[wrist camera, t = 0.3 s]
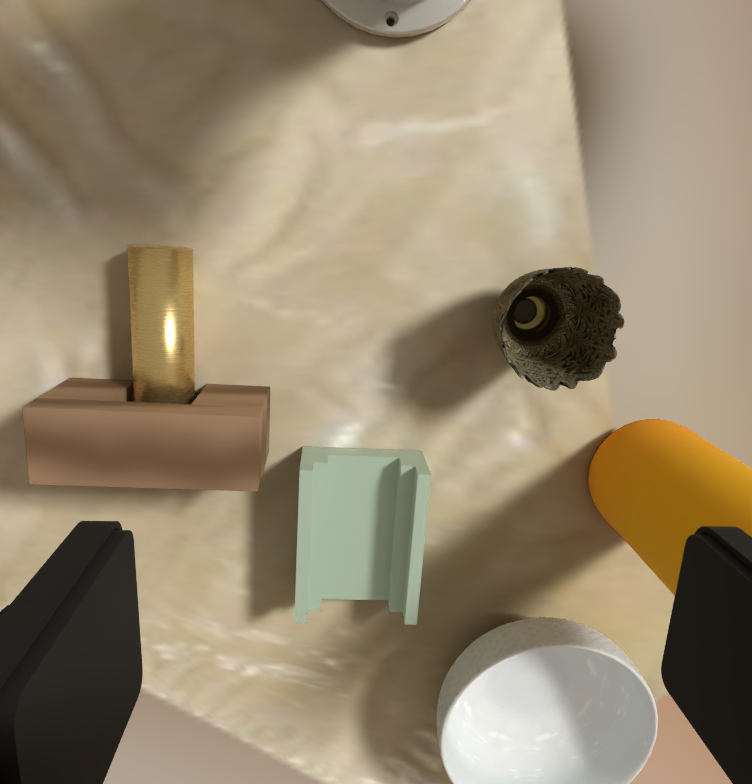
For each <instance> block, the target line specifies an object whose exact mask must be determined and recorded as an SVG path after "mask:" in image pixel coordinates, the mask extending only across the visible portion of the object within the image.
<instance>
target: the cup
mask: <svg viewBox="0 0 752 784" xmlns="http://www.w3.org/2000/svg"><path fill="white" fill-rule="evenodd" d="M602 282H603V283H604V279H603V278H602V277H600V276H595V275H589V274H588V271H587V270H584V269H581V268H576V267H575V268H572V267H563V268H553V269H544V270H538V271H533V272H530V273H528V274H525V275H523V276H521V277H519V278H518V279H516V280H515V281H513V282H512V283H511V284H510V285H509V286H508V287H507V288H506V289H505V290H504V291H503V293H502V294H501V296H500V297H499V299H498V301H497V304H496V306H495V310H494V315H493V329H494V334H495V337H496V340H497V343H498V345H499V347H500V349H501V351H502V352H503V354H504V356H505V358H506V360H507V362H508V363H509V364H510V365H511V367H512V368H513V369H514V370H515V372H516V373H517V375H518V376H519V377H521V378H522V379H523V378H526V380H527V381H528V382H531V383H532V384H534V385H535V386H537V387H540V388H542V387H544V388H546V389H549V390H554V391H555V390H557V389H558V388H559V387H560V385H563V386H566V387H568V388H570V389H574V388H575V387H576V385H577V383H578V382H579V381H589V380H593V379H596V378H598V377H599V376H600V375H601V373H602V372H603V369H604V367H605V364H606V362H611V361H612V360H613V359H615V358H616V355H617V351H616V350H615V347H613V345H612V343H613V341H614V339H616V329H617V328H620V329H621V328H623V325H624V319H623V317H622V316H621V314H620V313H619V311H620V308H621V304H620V299H619V297H618V295H617V294H616V293H615V292H614V291H612V289H610V288H609V287H607V286H606V285H604V284H603V283H602ZM523 300H529V301H531V302H533V303H534V305H535V307H536V315H535V317H534V318H533V319H532V320H531V321H529V322H526V323H522V322H519V321H518V320H517V319H516V318H515V316H514V311H515V308H516V306H517V305H518V303H519V302H520V301H523ZM576 382H577V383H576Z"/></svg>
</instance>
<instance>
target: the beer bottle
mask: <svg viewBox="0 0 752 784" xmlns="http://www.w3.org/2000/svg"><path fill="white" fill-rule="evenodd" d="M589 489H590V494H591V496H592V499H593V501H594V504H595V506H596V507H597V509H598V510H599V512H600V513H601V515H602V516H603V518H604V519H605V520H606V521H607V522H608V523H609V524H610V525H611V526H612V527H613V528H614V529H615V530H616V531H617V532H618V533H619V534H620V535H621V536H622V537H623V538H624V539H625V541H626V542H627V543H628V544H629V545H630V546H631V547H632V548H633V550H634V551H635V552H636V553H637V554H638V555H639V556H640V557H641V558H642V560H643V561H644V562H645V563H646V564H647V565H648V566H649V567H650V569H651V570H652V571H653V572H654V573H655V574H656V575H657V576H658V577H659V579H660V580H661V581H662V582H663V583H664V584H665V585H666V586H667V588H668V589H669V590H670V591H671V592H672V593H673V594H674V595H675V594H676V588H677V583H678V578H679V573H680V568H681V563H682V558H683V553H684V547H685V543H686V540H687V538H688V537H689V536H690V535H694V534H695V532H696V531H697V529H698V528H700V527H702V526H731V527H738V528H740V529H741V530H743V531H744V532H745V533H747V534H748V535H749V536H751V537H752V469H751V468H750V467H748V466H747V465H745V464H743V463H742V462H740V461H738V460H737V459H735V458H733V457H732V456H730V455H728V454H727V453H725V452H724V451H722V450H720V449H718V448H717V447H715V446H714V445H712V444H710V443H709V442H707V441H706V440H704V439H703V438H701V437H700V436H698V435H697V434H695V433H694V432H692V431H691V430H689V429H688V428H686V427H683V426H681V425H678V424H676V423H673V422H670V421H665V420H660V419H646V420H640V421H635V422H633V423H630V424H627V425H625V426H623V427H621V428H619V429H617V430H616V431H615V432H613V433H612V434H611V435H610V436H608V437H607V438H606V439H605V441H604V442H603V443H602V444H601V445H600V447H599V448H598V450H597V451H596V453H595V455H594V457H593V459H592V462H591V465H590V470H589Z"/></svg>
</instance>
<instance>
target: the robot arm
mask: <svg viewBox="0 0 752 784" xmlns="http://www.w3.org/2000/svg"><path fill="white" fill-rule="evenodd" d="M322 1H323V2H324V4H325V5H327V6H328V7H329V8H330V9H331V10H332V11H333V12H334V13H335V14H336V15H337V16H338V17H340V18H341V19H343V20H344V21H346V22H348V23H349V24H351V25H352V26H354V27H356V28H358V29H360V30H363V31H366V32H368V33H371V34H374V35H379V36H386V37H393V38H396V37H410V36H416V35H419V34H423V33H426V32H429V31H432V30H434V29H436V28H438V27H440V26H441V25H443V24H445V23H447V22H449V21H450V20H451V19H452V18H454V17H455V16H456V15H457V14H459V13H460V12H461V11H462V10H463V9H464V8H465V7H466V6H467V5H468V4H469V2H470V1H471V0H322ZM388 19H392V20H393V21H394V25H393V26H388V25H387V23H386V21H387V20H388ZM661 673H662V679H663V682H664V685H665V687H666V689H667V691H668V692H669V694H670V695H671V697H672V698H673V699H674V701H675V702H676V704H677V705H678V706H679V708H680V709H681V711H682V712H683V713H684V715H685V716H686V718H687V719H688V721H689V722H690V724H691V725H692V726H693V728H694V729H695V731H696V732H697V734H698V735H699V736H700V738H701V739H702V741H703V742H704V743H705V745H706V746H707V748H708V749H709V750H710V752H711V753H712V755H713V756H714V758H715V759H716V761H717V762H718V763H719V765H720V766H721V767H722V769H723V770H724V772H725V773H726V775H727V776H728V778H729V779H730V780H731V782H732V783H733V784H752V537H751V536H749V535H748V534H747V533H745V532H744V531H743V530H741V529H740V528H738V527H731V526H702V527H700V528H698V529H697V531H696V532H695V534H694V535H690V536H689V537H688V538H687V540H686V543H685V547H684V553H683V558H682V563H681V568H680V573H679V578H678V583H677V588H676V594H675V599H674V604H673V609H672V614H671V619H670V624H669V629H668V635H667V640H666V645H665V650H664V655H663V660H662V666H661ZM141 684H142V655H141V641H140V626H139V611H138V596H137V582H136V567H135V552H134V539H133V534H132V532H131V531H130V530H122V527H121V524H120V523H119V522H118V521H81V522H79V523H78V524H77V525H76V527H75V528H74V529H73V530H72V531H71V533H70V534H69V535H68V536H67V537H66V538H65V540H64V541H63V542H62V543H61V544H60V546H59V547H58V548H57V549H56V550H55V552H54V553H53V554H52V555H51V556H50V558H49V559H48V560H47V561H46V562H45V564H44V565H43V566H42V567H41V568H40V570H39V571H38V572H37V573H36V574H35V576H34V577H33V578H32V579H31V580H30V582H29V583H28V584H27V585H26V586H25V587H24V589H23V590H22V591H21V592H20V593H19V595H18V596H17V597H16V598H15V599H14V601H13V602H12V603H11V604H10V605H8V606H6V607H5V608H4V609H3V610H2V611H1V612H0V784H103V782H104V779H105V777H106V774H107V772H108V769H109V767H110V764H111V762H112V760H113V757H114V755H115V752H116V750H117V747H118V744H119V743H120V740H121V738H122V735H123V733H124V730H125V728H126V725H127V723H128V721H129V718H130V716H131V713H132V711H133V708H134V706H135V703H136V701H137V698H138V696H139V693H140V689H141Z"/></svg>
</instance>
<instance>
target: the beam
mask: <svg viewBox="0 0 752 784" xmlns="http://www.w3.org/2000/svg"><path fill="white" fill-rule="evenodd" d="M22 410H23V420H24V431H25V442H26V453H27V464H28V475H29V484H38V485H70V486H101V487H133V488H164V489H195V490H227V491H258V489H259V485H260V482H261V478H262V474H263V471H264V467H265V464H266V460H267V456H268V453H269V419H270V387H262V386H240V385H218V384H206V386H205V387H204V388H203V390H202V391H201V392H200V394H199V395H198V396H197V398H196V399H195V400H194V402H193V403H192V404H172V403H149V402H134V394H133V381H129V380H107V379H85V378H69V379H67V380H66V381H64V382H62V383H61V384H59V385H58V386H56V387H54V388H53V389H51V390H49V391H48V392H46V393H45V394H43V395H41V396H40V397H38V398H36V399H35V400H33V401H32V402H30V403H28V404H27V405H25V406H23V407H22Z"/></svg>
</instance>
